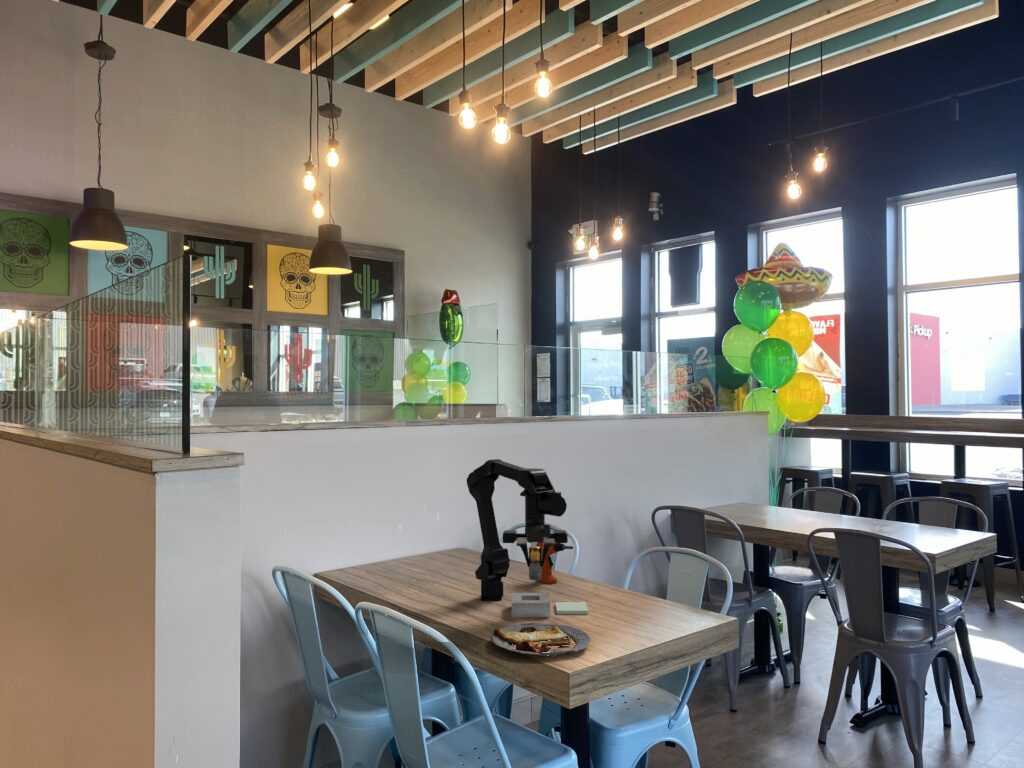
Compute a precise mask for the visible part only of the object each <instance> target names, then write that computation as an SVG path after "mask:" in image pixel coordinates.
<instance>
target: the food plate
mask: <svg viewBox="0 0 1024 768" xmlns="http://www.w3.org/2000/svg"><path fill="white" fill-rule="evenodd" d="M568 636H569V637H570V639H571V638H572V640H573V641H574V642H575V644H576V645H575V646H574V645H573V646H574V647H573V646H572V648H569V649H567V650H563V651H562V650H561V651H560V650H558V651H555V652H553V651H552V652H550V653H542V652H547V651H549V650H550V649H551V648H550V647H548V646H562V645H570V643H571V644H572V642H571V641H570V639H564V638H569V637H568ZM490 640H491V642H492V643H493V645H494V646H496V647H497V648H501V649H504V650H507V651H508V652H510V653H512V652H513V653H517V654H520V655H525V654H528V656H535V655H536V656H538V657H546V656H547V655H551V656H554V657H556V656H558V655H564V654H566V653H571V652H576V653H577V652H579V651H582V650H583V649H584V650H585V649H586V648H587V647H588V646H589V643H590V642H591V637H590V635H588V633H586V632H585V631H583V630H582V629H580V628H576V627H573V626H570V625H566V624H559V623H544V622H540V623H534V622H529V623H528V622H527V623H521V624H516V625H510V626H509V625H508V626H506V627H502V628H500V627H497V628H494V630H493V634H492V635H491V637H490ZM548 640H551V641H548ZM540 641H546V642H542V645H539V644H536V643H534V642H540ZM512 644H513V645H512ZM514 645H516V650H515V649H512V648H511V647H514ZM570 646H571V645H570ZM555 655H556V656H555ZM551 656H550V657H551Z"/></svg>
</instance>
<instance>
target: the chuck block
mask: <svg viewBox="0 0 1024 768" xmlns="http://www.w3.org/2000/svg"><path fill="white" fill-rule="evenodd" d="M511 618H551V597H550V593H549V592H511Z"/></svg>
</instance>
